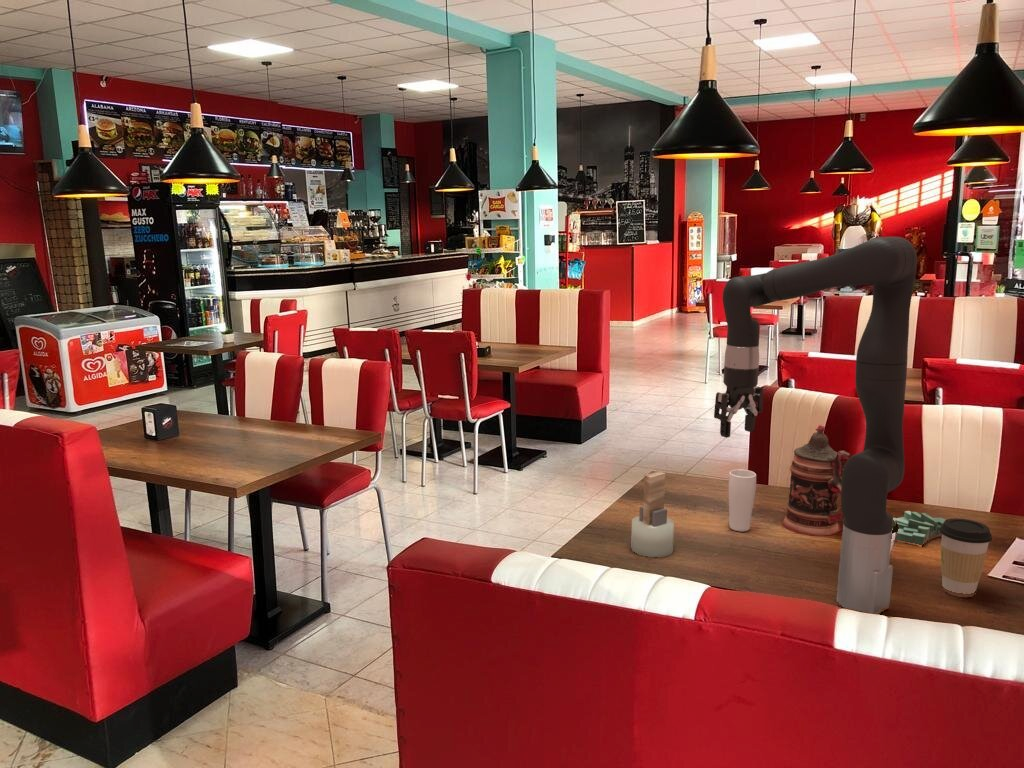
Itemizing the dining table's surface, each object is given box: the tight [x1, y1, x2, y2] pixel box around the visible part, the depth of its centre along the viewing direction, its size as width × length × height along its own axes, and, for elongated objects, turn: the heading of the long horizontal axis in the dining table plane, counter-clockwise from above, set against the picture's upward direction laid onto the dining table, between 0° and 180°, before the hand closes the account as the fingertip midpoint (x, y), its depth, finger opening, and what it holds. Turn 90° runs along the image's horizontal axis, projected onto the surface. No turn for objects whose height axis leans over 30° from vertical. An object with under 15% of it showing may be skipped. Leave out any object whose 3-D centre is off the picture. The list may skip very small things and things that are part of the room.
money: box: [893, 510, 946, 545], centre depth 208 cm, size 20×16×5 cm
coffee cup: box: [939, 517, 993, 594], centre depth 173 cm, size 10×10×15 cm
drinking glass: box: [727, 468, 757, 533], centre depth 208 cm, size 7×7×15 cm
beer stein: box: [781, 424, 851, 537], centre depth 208 cm, size 17×28×18 cm
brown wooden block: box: [642, 471, 666, 525], centre depth 194 cm, size 2×5×12 cm, turn 127°
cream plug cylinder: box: [630, 505, 675, 558], centre depth 195 cm, size 10×10×10 cm
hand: (737, 433), depth 186 cm, fingers open, 8 cm apart
